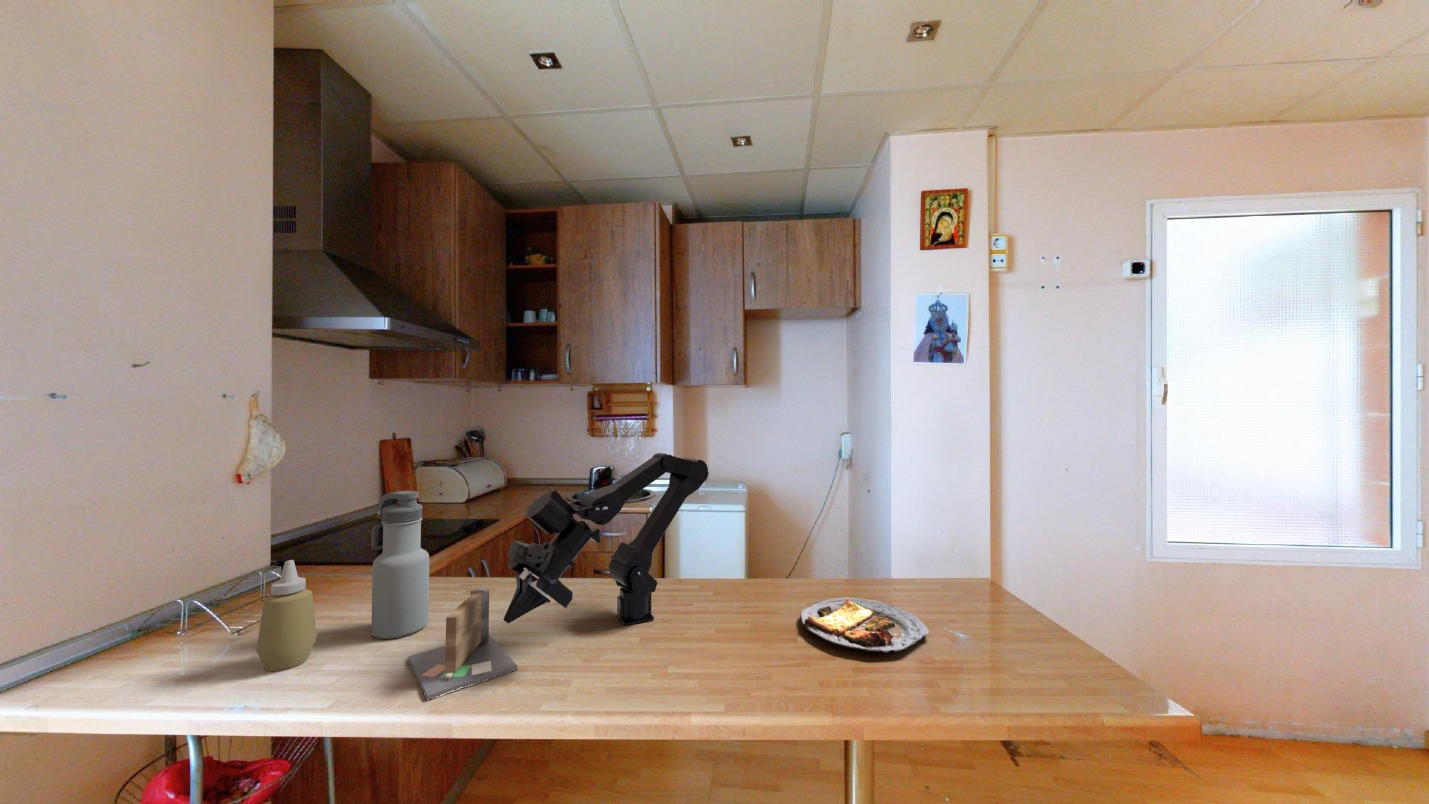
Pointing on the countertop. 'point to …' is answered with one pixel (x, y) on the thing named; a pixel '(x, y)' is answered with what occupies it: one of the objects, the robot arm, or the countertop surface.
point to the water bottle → (399, 568)
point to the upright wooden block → (466, 629)
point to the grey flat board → (475, 668)
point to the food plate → (846, 614)
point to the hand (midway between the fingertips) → (505, 621)
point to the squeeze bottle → (287, 622)
